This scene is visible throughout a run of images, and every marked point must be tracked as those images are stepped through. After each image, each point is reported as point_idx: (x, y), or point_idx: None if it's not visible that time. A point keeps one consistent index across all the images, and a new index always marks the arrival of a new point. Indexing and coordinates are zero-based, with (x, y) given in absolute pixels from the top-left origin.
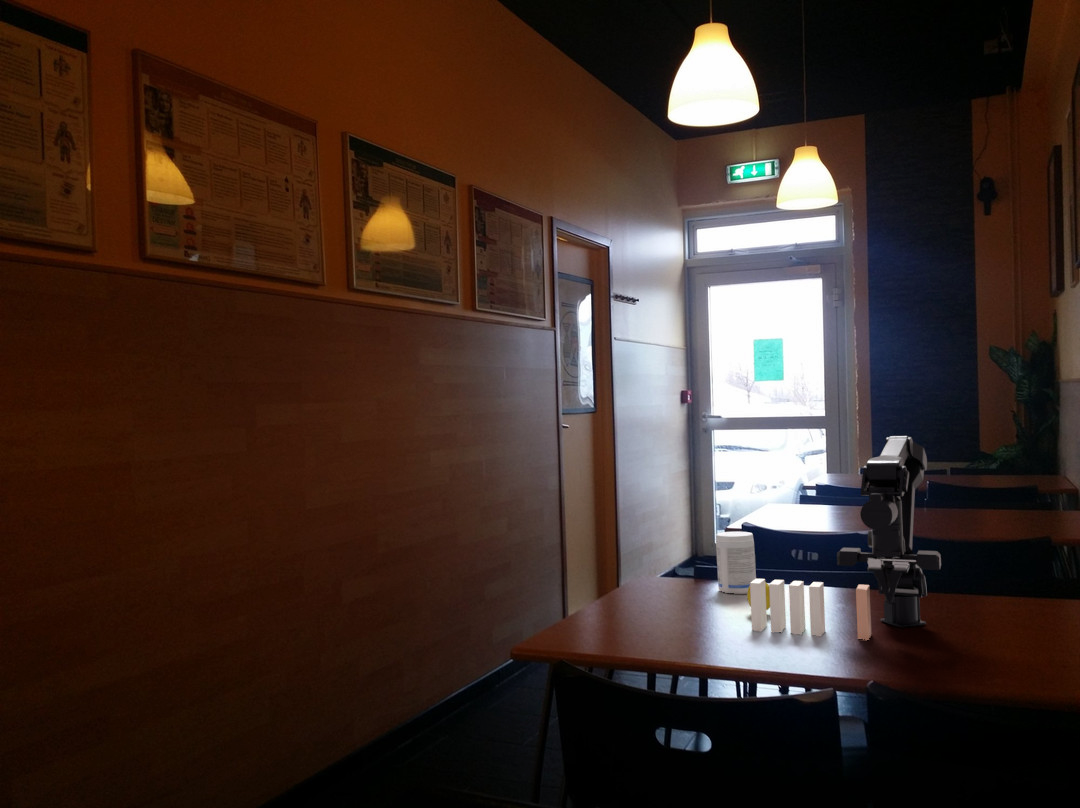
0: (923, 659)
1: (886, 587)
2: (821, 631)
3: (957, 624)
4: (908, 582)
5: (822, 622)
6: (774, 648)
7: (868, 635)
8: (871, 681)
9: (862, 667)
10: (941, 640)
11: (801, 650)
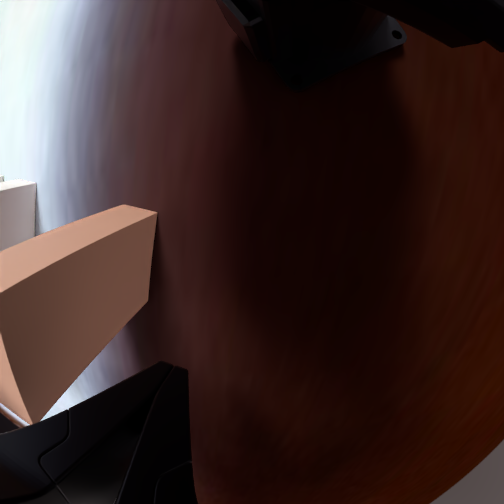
0: (282, 450)
1: (121, 481)
2: None
3: (497, 51)
4: (411, 18)
5: (9, 235)
6: None
7: (140, 306)
8: None
9: None
10: (407, 282)
11: None
